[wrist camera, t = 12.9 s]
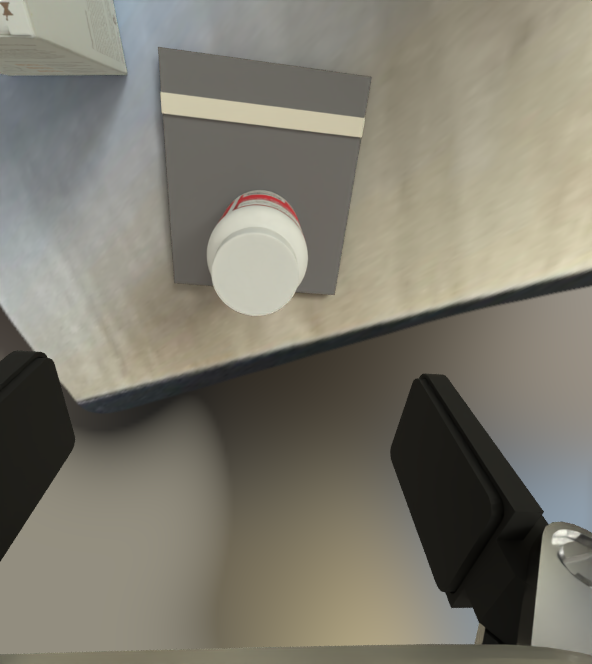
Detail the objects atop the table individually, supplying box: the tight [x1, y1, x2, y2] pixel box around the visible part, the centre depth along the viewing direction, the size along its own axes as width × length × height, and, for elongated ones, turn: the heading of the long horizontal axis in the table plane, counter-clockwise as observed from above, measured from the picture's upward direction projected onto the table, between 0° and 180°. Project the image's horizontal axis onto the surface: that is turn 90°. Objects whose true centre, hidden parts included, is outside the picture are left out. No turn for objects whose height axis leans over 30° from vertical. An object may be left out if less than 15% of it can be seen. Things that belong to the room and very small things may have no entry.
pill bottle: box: [207, 190, 308, 316], centre depth 23 cm, size 6×6×11 cm
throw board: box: [158, 47, 371, 295], centre depth 27 cm, size 16×14×1 cm
